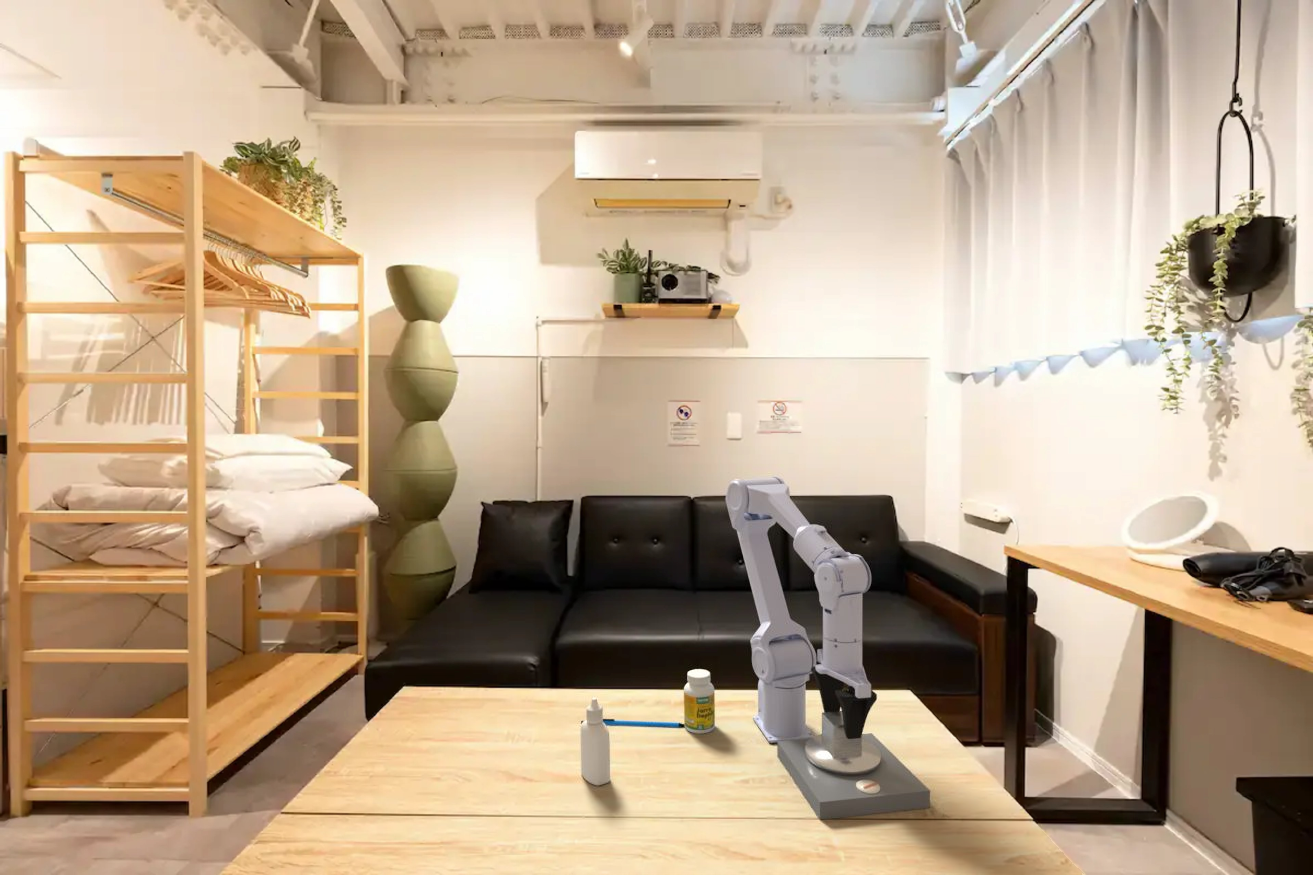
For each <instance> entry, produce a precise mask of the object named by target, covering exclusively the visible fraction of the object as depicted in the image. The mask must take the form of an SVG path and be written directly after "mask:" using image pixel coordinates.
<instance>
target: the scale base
mask: <svg viewBox="0 0 1313 875" xmlns="http://www.w3.org/2000/svg"><path fill="white" fill-rule="evenodd" d="M862 739H865V740H867V741H869V742H871V743H872V744H873V745H875V746H876V747H877V748H878V749H879V751H880V754H881V763H880V765H879V767H878V768H877V769H875V770H874V771H872V772H869V773H865V774H859V775H845V774H838V773H833V772H830V771H827V770H824V769H822V768H819V767H818V766H816V765H814V764H813V763H812V762H810V761H809V759H808V758H807V756H806V754H805V745H806V742H807V741H808V740H809V739H801V740H790V741H779V742H776V743H777V744H776V745H777V750H776V752H777V758H778V759H779V761H780V763H781V764H782V765H783V767H784V768H785V770H786V771H787V773H788V774H789V776H790V778H791V779H792V781H793V782H794V784H795V785H796V787H797V788H798V790H799V791H800V792H801V794H802V795H803V797H804V799H805V800H806V801H807V803H808V805H809V806H810V807H811V809H812V810H813V813H815V815H816V816H817V818H818V819H819V821H821V820H830V819H839V818H849V817H857V816H867V815H876V814H885V813H894V812H902V811H903V812H904V811H913V810H922V809H930V808H931V790H930V789H929V788H928V787H927V786H926V785H925V784H924V783H923V782H922V781H921V780H920V779H919V778H918V777H917V776H916V775H915V774H913V772H912V771H911V770H909V769H908V768H907V767H906V766H905V764H904V763H903V762H901V761H900V760H899V758H897V756H895V755H894V754H893V752H891V750H890V749H888V747H887V746H885V744H883V743H882V742H881V741H880V740H879V738H877V737H876V735H874V734H873V733H872V732H871V733H862Z"/></svg>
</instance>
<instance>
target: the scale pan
mask: <svg viewBox="0 0 1313 875" xmlns="http://www.w3.org/2000/svg"><path fill="white" fill-rule="evenodd" d="M805 754H806V756H807V758H808V759H809V761H810V762H812V763H813V764H814V765H816V766H818V767H819V768H822V769H824V770H827V771H830V772H833V773H838V774H845V775H859V774H865V773H869V772H872V771H874V770H875V769H877V768H878V767H879V765H880V763H881V754H880V751H879V749H878V748H877V747H876V746H875V745H873V744H872V743H871V742H869V741H867V740H865V739H862V756H859V757H849V758H838V759H833V757H832V756H831V755H830V754H829V753H828V751H827V750H826V749H825V748H824V747H823V745H822V733H821V734H817V735H814V737H812V738H810V739H809V740H808V741H807V742H806V745H805Z"/></svg>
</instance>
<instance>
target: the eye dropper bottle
mask: <svg viewBox="0 0 1313 875" xmlns="http://www.w3.org/2000/svg"><path fill="white" fill-rule="evenodd" d="M585 710H586V720H583V721H584V722H583V723H581V724H580V772H581V775H582V777H583V778H584V780H585V781H587V782H588V783H589V784H591V785H594V786H598V787H599V786H602V785H604V784H607V783H609V782H610V780H611V753H610V752H611V747H610V746H611V745H610V743H611V742H610V731H609V729H608V727H607V726H608V725H605V723H604V722H603V719H604V718H603V717H604V716H603V715H604V713H603V712H604V711H603V706H602V705H601V704H599V703H598V699H597V697H592V698H591V703H590V705H588V706H587V707H586V709H585Z"/></svg>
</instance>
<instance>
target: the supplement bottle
mask: <svg viewBox="0 0 1313 875" xmlns="http://www.w3.org/2000/svg"><path fill="white" fill-rule="evenodd" d="M686 680H687V683H686V684H685V685H684V687H683V714H684V718H683V720H684V722H683V724H685V727H684V728H685V730H687V731H688V732H690V733H693V734H699V735H701V734H707V733H710V732H712V731H713V730H714V728H715V727H716V726H715V724H716V719H715V718H716V716H715V715H716V714H715V710H716V709H715V706H716V705H715V702H716V701H715V700H716V698H715V687H714V685H713V684H712V682H711V672H710V671H709V670H707V669H702V668H698V669H697V668H695V669H692V670H689V671H687V679H686Z"/></svg>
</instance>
